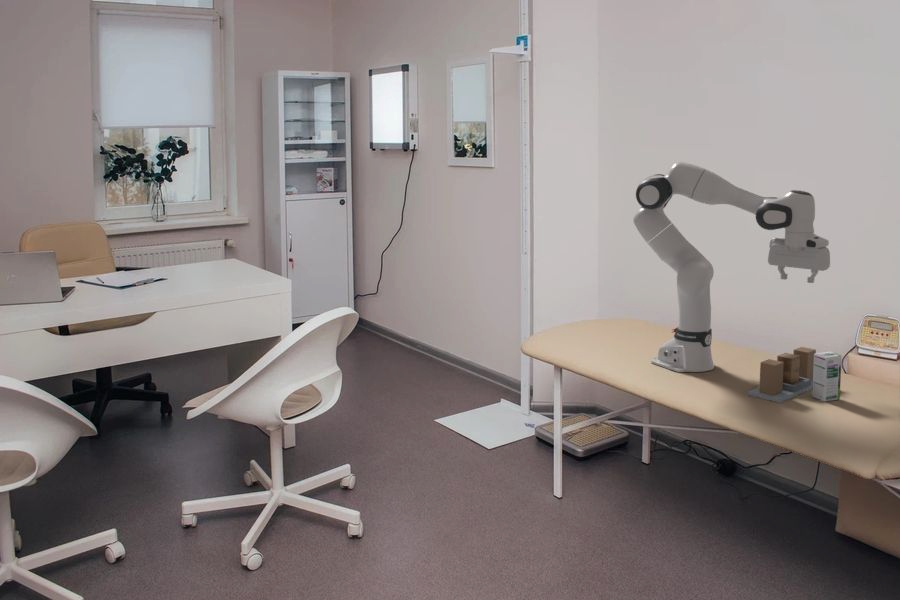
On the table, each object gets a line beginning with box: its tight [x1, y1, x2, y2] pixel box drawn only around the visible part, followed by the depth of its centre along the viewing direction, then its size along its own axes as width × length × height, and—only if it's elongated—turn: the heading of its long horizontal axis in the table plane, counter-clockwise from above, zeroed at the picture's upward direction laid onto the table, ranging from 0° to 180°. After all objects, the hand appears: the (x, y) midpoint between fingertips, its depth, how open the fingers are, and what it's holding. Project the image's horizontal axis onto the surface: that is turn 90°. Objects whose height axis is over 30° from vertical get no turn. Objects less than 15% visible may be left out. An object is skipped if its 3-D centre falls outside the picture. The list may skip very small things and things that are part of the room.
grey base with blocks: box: [747, 346, 817, 404], centre depth 270 cm, size 11×28×11 cm, turn 129°
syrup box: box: [812, 351, 843, 403], centre depth 259 cm, size 6×6×14 cm
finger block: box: [776, 352, 800, 385], centre depth 270 cm, size 5×5×10 cm
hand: (797, 280), depth 277 cm, fingers open, 8 cm apart
